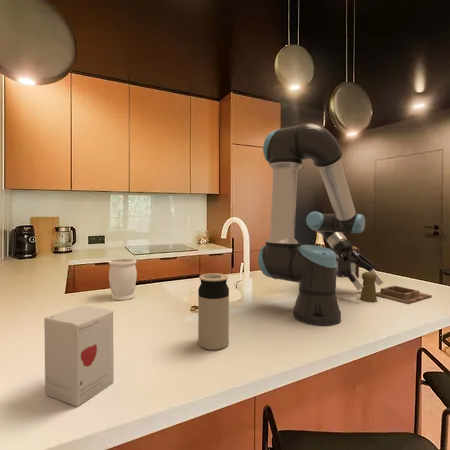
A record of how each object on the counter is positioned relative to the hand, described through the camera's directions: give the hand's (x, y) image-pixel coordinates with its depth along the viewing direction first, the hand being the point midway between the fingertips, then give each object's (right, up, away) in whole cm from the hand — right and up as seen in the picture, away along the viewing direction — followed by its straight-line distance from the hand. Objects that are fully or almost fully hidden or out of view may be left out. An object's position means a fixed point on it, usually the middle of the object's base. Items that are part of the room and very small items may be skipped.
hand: (371, 286), depth 118 cm
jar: (-99, -5, +2) cm, 99 cm away
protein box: (+9, -4, +48) cm, 49 cm away
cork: (-1, -6, +1) cm, 6 cm away
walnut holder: (+16, -5, +6) cm, 18 cm away
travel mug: (-61, -7, -39) cm, 73 cm away
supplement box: (-86, -8, -59) cm, 105 cm away
